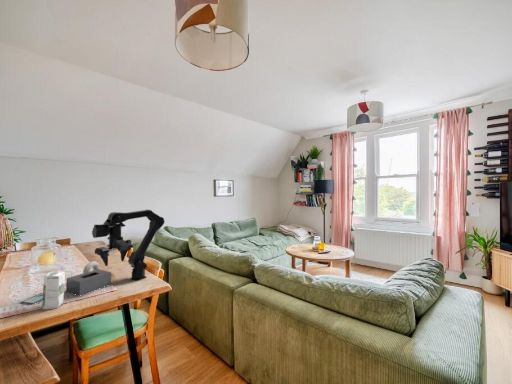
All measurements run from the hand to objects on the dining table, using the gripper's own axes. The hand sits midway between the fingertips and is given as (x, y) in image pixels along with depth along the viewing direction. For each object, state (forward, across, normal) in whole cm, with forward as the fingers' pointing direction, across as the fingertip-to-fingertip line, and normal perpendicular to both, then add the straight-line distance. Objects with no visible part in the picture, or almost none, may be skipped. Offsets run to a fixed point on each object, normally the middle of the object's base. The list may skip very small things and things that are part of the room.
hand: (114, 263), depth 131 cm
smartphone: (+12, -25, +16) cm, 32 cm away
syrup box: (+12, -28, +1) cm, 30 cm away
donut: (+12, 0, +20) cm, 23 cm away
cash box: (+12, -9, +7) cm, 16 cm away
